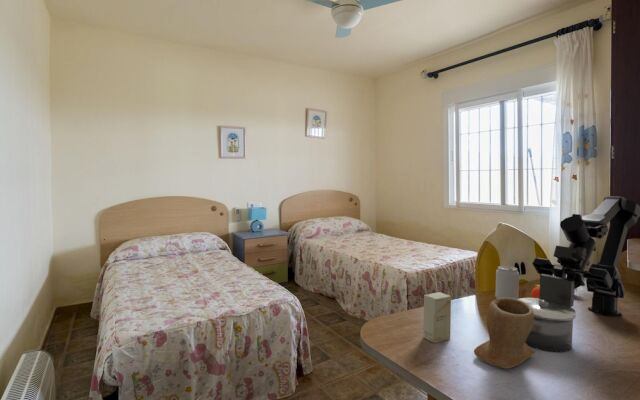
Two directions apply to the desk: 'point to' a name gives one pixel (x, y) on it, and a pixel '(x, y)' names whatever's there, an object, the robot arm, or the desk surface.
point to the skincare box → (437, 317)
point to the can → (507, 282)
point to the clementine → (535, 291)
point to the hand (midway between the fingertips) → (558, 295)
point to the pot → (551, 335)
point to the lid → (553, 299)
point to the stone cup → (507, 333)
